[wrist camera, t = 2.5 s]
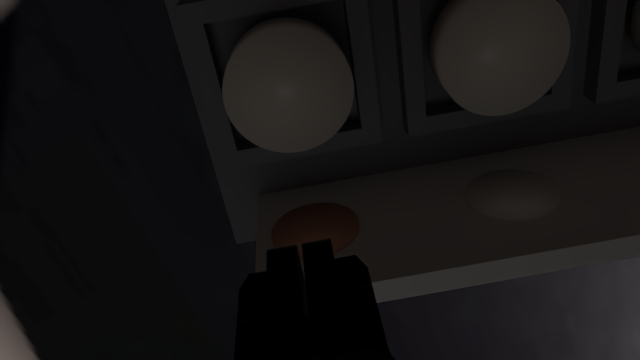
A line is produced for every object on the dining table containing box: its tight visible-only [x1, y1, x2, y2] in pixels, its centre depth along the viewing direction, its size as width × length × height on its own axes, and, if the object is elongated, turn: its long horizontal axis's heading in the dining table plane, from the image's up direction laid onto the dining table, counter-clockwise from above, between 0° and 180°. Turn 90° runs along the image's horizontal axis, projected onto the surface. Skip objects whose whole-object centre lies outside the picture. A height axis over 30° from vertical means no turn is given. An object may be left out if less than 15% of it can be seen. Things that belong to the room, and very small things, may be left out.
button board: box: [164, 0, 640, 303], centre depth 25 cm, size 30×16×12 cm, turn 99°
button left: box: [222, 17, 354, 153], centre depth 25 cm, size 6×6×2 cm
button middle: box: [429, 0, 570, 116], centre depth 25 cm, size 6×6×2 cm
